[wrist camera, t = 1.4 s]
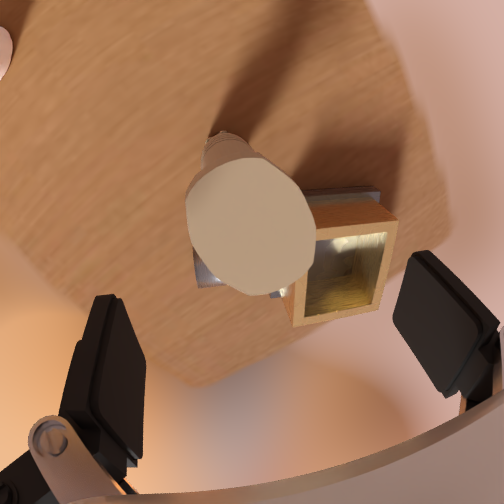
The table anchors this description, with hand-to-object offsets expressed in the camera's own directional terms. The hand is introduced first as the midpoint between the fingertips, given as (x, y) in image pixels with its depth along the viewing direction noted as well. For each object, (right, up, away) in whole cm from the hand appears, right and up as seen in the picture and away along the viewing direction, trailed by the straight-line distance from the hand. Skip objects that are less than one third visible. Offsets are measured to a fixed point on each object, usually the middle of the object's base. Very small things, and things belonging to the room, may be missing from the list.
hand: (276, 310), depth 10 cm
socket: (+3, +3, +22) cm, 22 cm away
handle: (-3, +10, +16) cm, 19 cm away
